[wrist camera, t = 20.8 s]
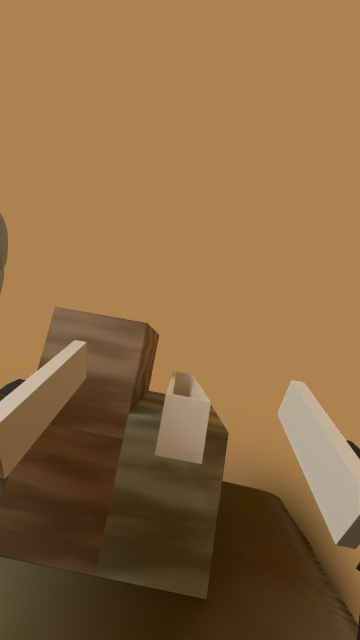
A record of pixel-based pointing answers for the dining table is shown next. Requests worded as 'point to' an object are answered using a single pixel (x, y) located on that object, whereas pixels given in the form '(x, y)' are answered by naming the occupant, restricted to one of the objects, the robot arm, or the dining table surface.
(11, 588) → the dining table surface
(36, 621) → the dining table surface
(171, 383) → the white long bar
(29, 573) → the dining table surface
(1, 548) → the two-tone wood block
